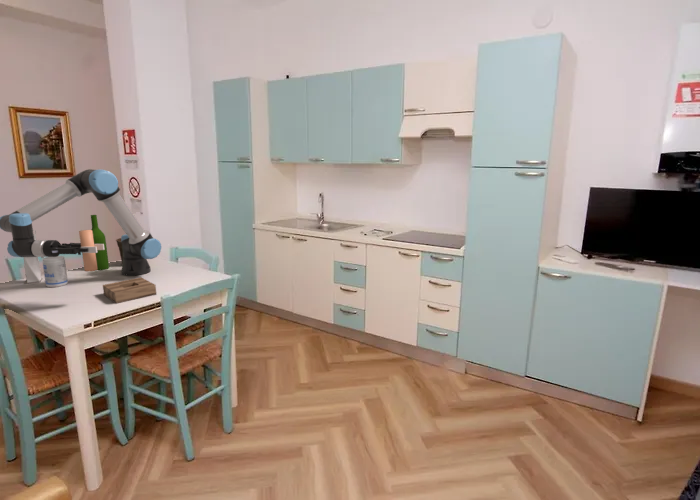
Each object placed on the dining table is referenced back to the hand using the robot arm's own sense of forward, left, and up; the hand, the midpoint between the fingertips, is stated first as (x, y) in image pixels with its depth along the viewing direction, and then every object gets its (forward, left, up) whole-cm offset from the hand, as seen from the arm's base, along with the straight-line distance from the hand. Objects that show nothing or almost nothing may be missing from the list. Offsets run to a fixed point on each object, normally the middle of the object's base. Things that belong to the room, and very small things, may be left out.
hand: (100, 248), depth 185 cm
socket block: (-5, +12, -26) cm, 29 cm away
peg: (-4, -4, -10) cm, 11 cm away
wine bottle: (-69, +17, -26) cm, 76 cm away
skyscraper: (-65, -16, -26) cm, 72 cm away
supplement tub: (-49, -9, -26) cm, 57 cm away
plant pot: (-67, +35, -26) cm, 80 cm away
